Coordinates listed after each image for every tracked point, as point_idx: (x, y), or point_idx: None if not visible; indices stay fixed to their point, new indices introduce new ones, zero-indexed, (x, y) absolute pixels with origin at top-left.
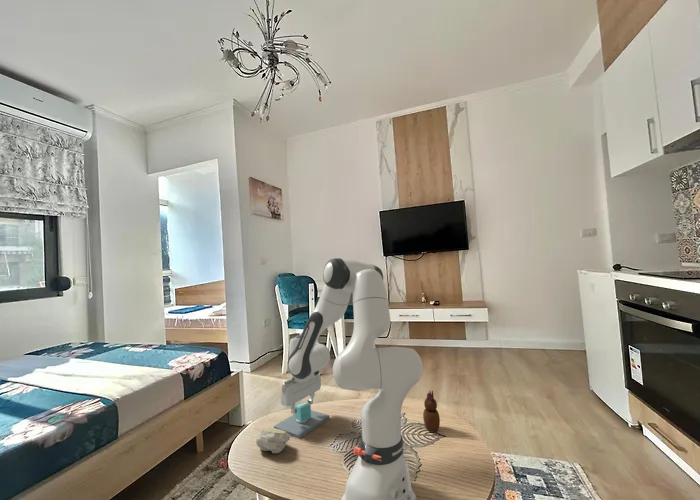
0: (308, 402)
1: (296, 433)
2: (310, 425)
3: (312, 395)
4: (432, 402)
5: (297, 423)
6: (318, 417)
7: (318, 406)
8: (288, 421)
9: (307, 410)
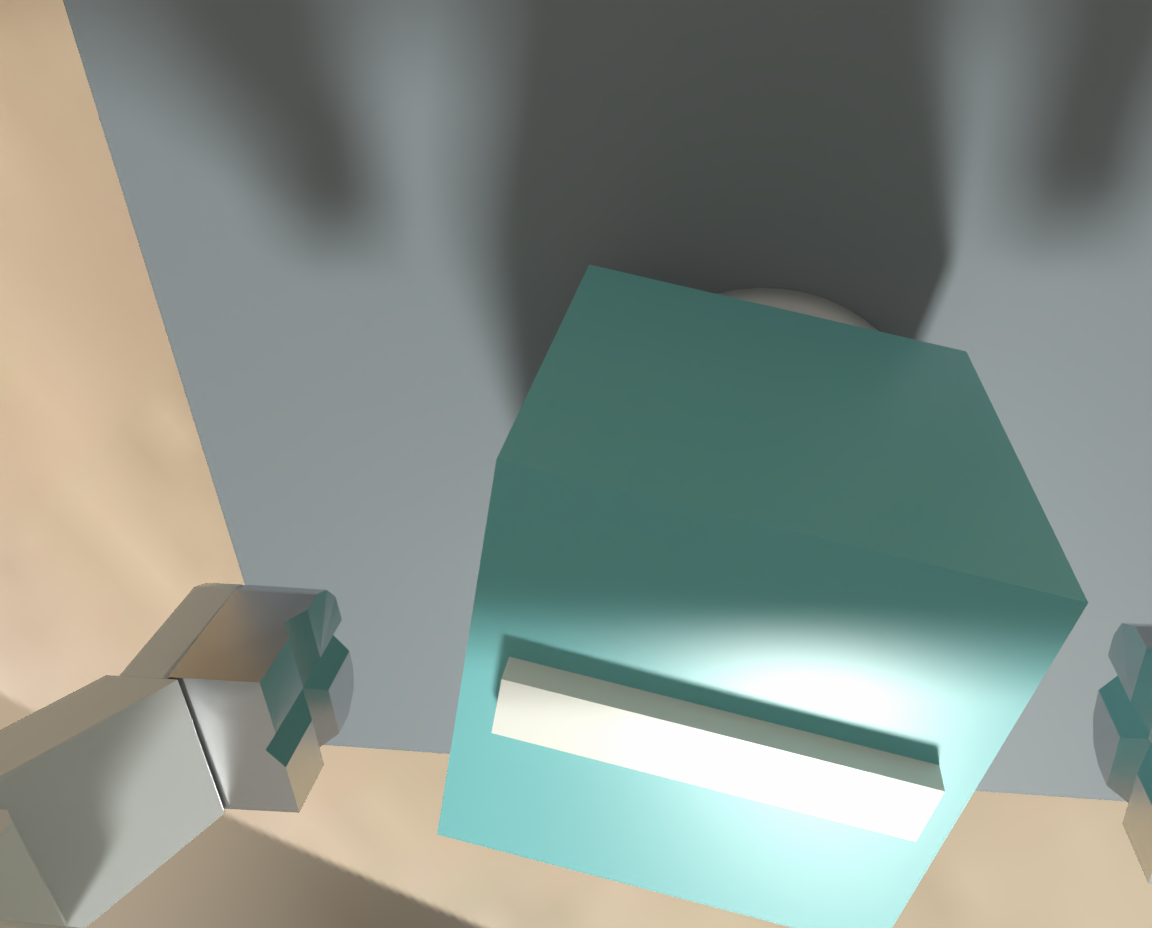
0: (319, 711)
1: None
2: (877, 2)
3: (12, 820)
4: None
5: None
6: (359, 166)
7: (10, 600)
8: None
9: (696, 412)
